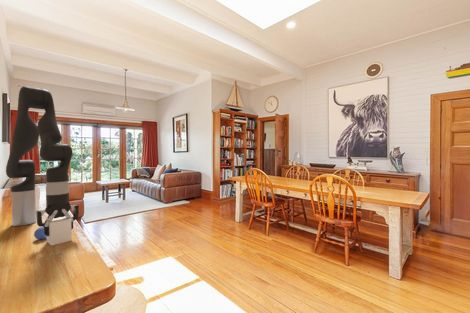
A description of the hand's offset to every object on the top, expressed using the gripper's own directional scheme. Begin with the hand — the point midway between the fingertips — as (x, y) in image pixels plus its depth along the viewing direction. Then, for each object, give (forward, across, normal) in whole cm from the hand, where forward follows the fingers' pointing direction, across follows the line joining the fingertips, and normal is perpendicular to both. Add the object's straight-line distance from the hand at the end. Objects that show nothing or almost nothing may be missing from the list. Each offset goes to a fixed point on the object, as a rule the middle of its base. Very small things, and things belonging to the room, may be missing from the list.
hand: (59, 232), depth 94 cm
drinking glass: (+4, -3, -76) cm, 76 cm away
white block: (+3, 0, 0) cm, 3 cm away
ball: (+1, +4, -9) cm, 10 cm away
